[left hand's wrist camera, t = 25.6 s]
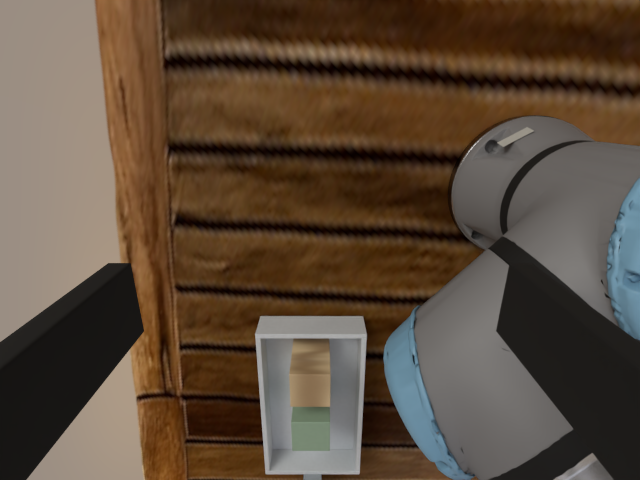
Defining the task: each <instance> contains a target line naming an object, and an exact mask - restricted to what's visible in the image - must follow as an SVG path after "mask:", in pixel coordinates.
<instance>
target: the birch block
mask: <svg viewBox="0 0 640 480" xmlns="http://www.w3.org/2000/svg"><path fill="white" fill-rule="evenodd" d="M289 383H290V406H291V407H330V389H331V370H330V344H329V338H293V347H292V355H291V364H290V372H289Z"/></svg>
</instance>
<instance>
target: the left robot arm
mask: <svg viewBox="0 0 640 480" xmlns="http://www.w3.org/2000/svg"><path fill="white" fill-rule="evenodd" d="M448 203H449V209H450V213H451V216H452V218H453V220H454V222H455V224H456V226H457V227H458V229H459V230H460V231H461V233H462V234H463V235H464V236H465V237H466V238H468V239H469V240H470V241H471V242H472V243H474V244H475V245H477V246H478V247H480V248H482V249H484V250H485V251H484V252H483V253H482V254H481V255H480V256H479V257H478V258H476V259H475V260H474V261H473V262H472V263H471V264H469V265H468V266H467V267H466V268H465V269H464V270H462V271H461V272H460V273H459V274H458V275H457V276H456V277H454V278H453V279H452V280H451V281H450V282H449V283H447V284H446V285H445V286H444V287H443V288H442V289H440V290H439V291H438V292H437V293H436V294H435V295H433V296H432V297H431V298H430V299H429V300H428V301H426V302H425V303H424V304H423V305H422V306H420V305H418V306H417V307H416V308H414V309H413V311H412V313H411V316H410V317H409V318H408V319H407V320H406V321H405V322H403V323H402V324H401V325H400V326H399V327H398V328H397V329H396V330H395V331H394V332H393V333H392V334H391V335H390V337H389V338H388V340H387V342H386V345H385V348H384V358H383V359H384V365H385V367H384V369H385V376H386V380H387V384H388V387H389V390H390V393H391V396H392V399H393V401H394V404H395V406H396V408H397V410H398V412H399V415H400V417H401V418H402V420H403V422H404V424H405V426H406V428H407V430H408V431H409V433H410V435H411V436H412V438H413V439H414V441H415V443H416V444H417V445H418V447H419V448H420V450H421V451H422V452H423V453H424V455H425V456H426V457H427V458H428V459H429V460H430V461H431V462H435V464H436V466H437V468H438V470H439V471H440V472H442V473H443V474H444V475H446V476H447V477H449V478H451V479H454V480H463V479H465V480H470V479H472V478H473V477H474V476H476V477H477V478H478V479H479V480H640V146H633V145H624V144H615V143H606V142H596V141H594V140H593V139H592V138H590V137H589V136H588V135H586V134H585V133H584V132H582V131H581V130H580V129H578V128H577V127H575V126H574V125H572V124H570V123H568V122H565V121H563V120H560V119H557V118H553V117H548V116H533V115H529V116H519V117H514V118H510V119H507V120H504V121H501V122H499V123H497V124H495V125H493V126H491V127H489V128H488V129H486V130H485V131H483V132H482V133H481V134H479V135H478V136H477V137H476V138H475V139H474V140H473V141H472V142H471V143H470V144H469V145H468V146H467V147H466V148H465V150H464V151H463V153H462V154H461V155H460V157H459V159H458V161H457V162H456V165H455V167H454V169H453V172H452V174H451V178H450V182H449V188H448ZM143 332H144V329H143V324H142V319H141V313H140V308H139V303H138V298H137V293H136V288H135V283H134V278H133V273H132V268H131V263H108V264H107V265H105V266H104V267H103V268H101V269H100V270H99V271H97V272H96V273H94V274H93V275H92V276H90V277H89V278H88V279H86V280H85V281H84V282H82V283H81V284H79V285H78V286H77V287H75V288H74V289H73V290H71V291H70V292H68V293H67V294H66V295H64V296H63V297H62V298H60V299H59V300H58V301H56V302H55V303H53V304H52V305H51V306H49V307H48V308H47V309H45V310H44V311H43V312H41V313H40V314H38V315H37V316H36V317H34V318H33V319H31V320H30V321H29V322H27V323H26V324H25V325H23V326H22V327H20V328H19V329H18V330H16V331H15V332H14V333H12V334H11V335H10V336H8V337H7V338H5V339H4V340H3V341H1V342H0V480H26V479H27V478H28V477H29V476H30V474H31V473H32V472H33V471H34V469H35V468H36V467H37V466H38V464H39V463H40V462H41V460H42V459H43V458H44V457H45V455H46V454H47V453H48V452H49V450H50V449H51V448H52V447H53V445H54V444H55V443H56V441H57V440H58V439H59V438H60V436H61V435H62V434H63V433H64V431H65V430H66V429H67V428H68V426H69V425H70V424H71V423H72V421H73V420H74V419H75V418H76V416H77V415H78V414H79V412H80V411H81V410H82V409H83V407H84V406H85V405H86V404H87V402H88V401H89V400H90V399H91V397H92V396H93V395H94V394H95V392H96V391H97V390H98V388H99V387H100V386H101V385H102V383H103V382H104V381H105V380H106V378H107V377H108V376H109V375H110V373H111V372H112V371H113V370H114V368H115V367H116V366H117V364H118V363H119V362H120V361H121V359H122V358H123V357H124V356H125V354H126V353H127V352H128V351H129V349H130V348H131V347H132V346H133V344H134V343H135V342H136V341H137V339H138V338H139V337H140V335H141V334H142V333H143Z"/></svg>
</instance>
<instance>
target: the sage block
mask: <svg viewBox="0 0 640 480" xmlns="http://www.w3.org/2000/svg"><path fill="white" fill-rule="evenodd" d="M291 434H292V451H330V407H292V418H291Z"/></svg>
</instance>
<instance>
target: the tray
mask: <svg viewBox="0 0 640 480" xmlns="http://www.w3.org/2000/svg"><path fill="white" fill-rule="evenodd" d="M255 338H256V351H257V364H258V378H259V391H260V405H261V418H262V431H263V445H264V458H265V472H266V474H304V479H303V480H322V475H321V474H360V456H361V437H362V418H363V399H364V380H365V360H366V341H367V333H366V328H365V323H364V318H363V316H260V320H259V323H258V327H257V330H256V334H255ZM293 338H329V344H330V370H331V389H330V451H292V434H291V418H292V407H291V406H290V383H289V372H290V364H291V355H292V347H293Z"/></svg>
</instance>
